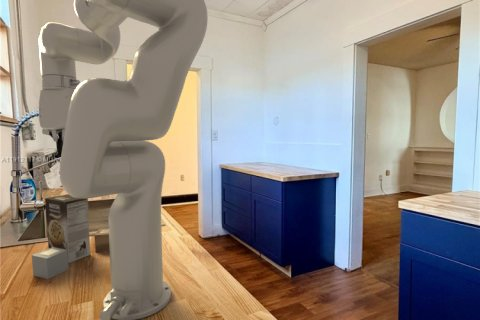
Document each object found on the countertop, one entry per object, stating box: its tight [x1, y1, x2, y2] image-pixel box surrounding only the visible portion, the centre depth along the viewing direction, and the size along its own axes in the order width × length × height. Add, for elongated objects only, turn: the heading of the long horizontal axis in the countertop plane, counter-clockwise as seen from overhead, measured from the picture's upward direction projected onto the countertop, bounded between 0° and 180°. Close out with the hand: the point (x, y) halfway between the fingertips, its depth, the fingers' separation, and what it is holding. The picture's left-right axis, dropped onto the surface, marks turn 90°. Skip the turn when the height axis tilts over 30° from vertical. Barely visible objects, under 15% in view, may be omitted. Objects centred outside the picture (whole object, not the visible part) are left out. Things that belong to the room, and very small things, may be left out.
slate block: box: [31, 247, 69, 280], centre depth 67 cm, size 5×5×5 cm
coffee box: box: [44, 193, 91, 264], centre depth 75 cm, size 9×6×16 cm
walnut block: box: [94, 228, 110, 253], centre depth 81 cm, size 5×5×5 cm
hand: (64, 156), depth 73 cm, fingers closed
